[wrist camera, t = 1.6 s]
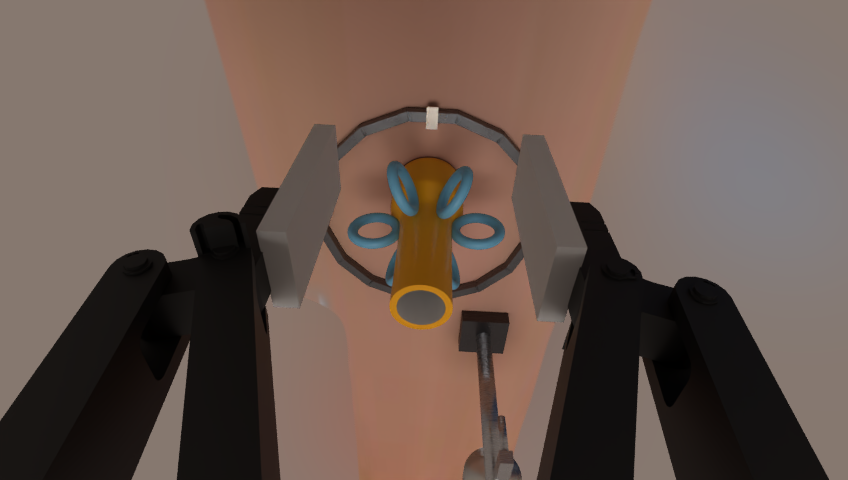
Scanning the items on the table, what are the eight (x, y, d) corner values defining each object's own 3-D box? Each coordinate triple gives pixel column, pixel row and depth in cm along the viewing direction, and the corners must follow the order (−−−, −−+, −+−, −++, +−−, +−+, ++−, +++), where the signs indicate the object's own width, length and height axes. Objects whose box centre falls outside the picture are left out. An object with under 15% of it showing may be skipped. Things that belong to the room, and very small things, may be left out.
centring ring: (297, 95, 37) (294, 100, 36) (568, 109, 36) (571, 114, 36) (323, 291, 50) (321, 298, 49) (523, 302, 50) (524, 309, 49)
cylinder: (441, 255, 46) (439, 384, 34) (346, 208, 43) (308, 331, 31) (518, 162, 40) (549, 282, 28) (413, 99, 37) (397, 202, 25)
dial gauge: (464, 287, 49) (473, 475, 33) (512, 289, 49) (543, 479, 33) (458, 340, 54) (463, 525, 38) (501, 343, 54) (523, 528, 38)
